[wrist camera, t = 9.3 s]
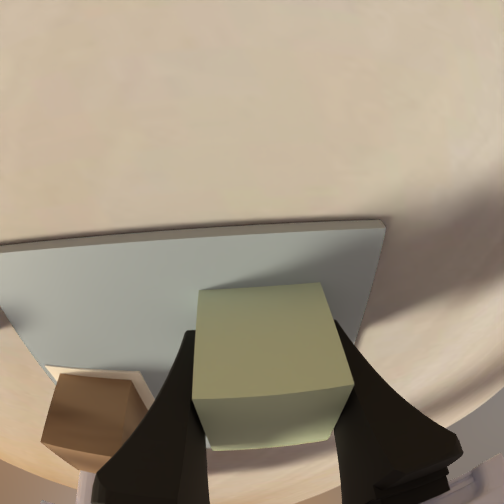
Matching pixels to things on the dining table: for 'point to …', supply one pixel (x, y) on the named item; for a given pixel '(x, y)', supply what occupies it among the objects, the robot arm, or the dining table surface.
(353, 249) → the board
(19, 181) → the dining table surface
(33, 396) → the dining table surface
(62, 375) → the block
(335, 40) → the dining table surface
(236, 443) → the block
